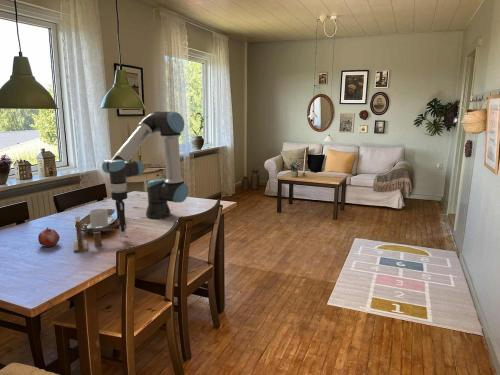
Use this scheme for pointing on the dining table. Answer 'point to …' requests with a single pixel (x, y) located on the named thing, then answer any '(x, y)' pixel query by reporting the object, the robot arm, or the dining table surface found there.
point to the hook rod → (102, 228)
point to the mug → (99, 218)
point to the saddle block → (97, 239)
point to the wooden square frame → (79, 238)
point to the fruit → (48, 237)
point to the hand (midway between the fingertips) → (122, 234)
